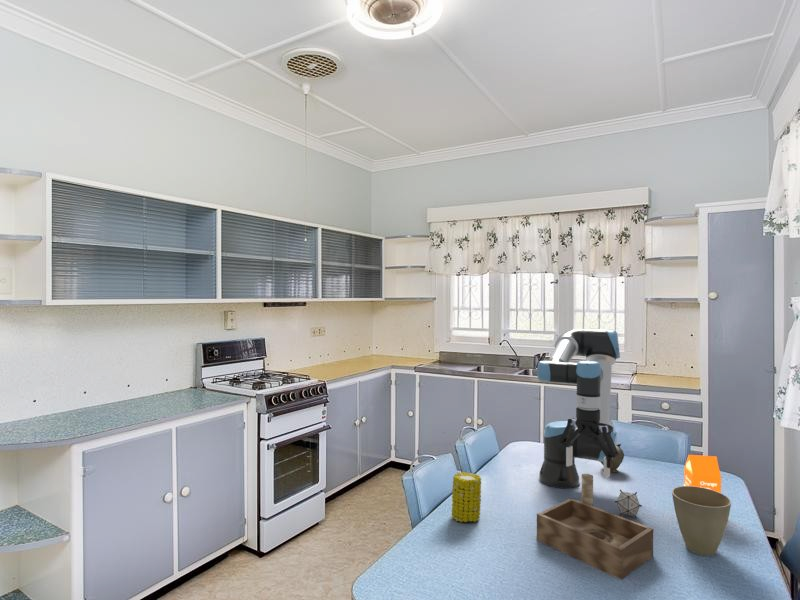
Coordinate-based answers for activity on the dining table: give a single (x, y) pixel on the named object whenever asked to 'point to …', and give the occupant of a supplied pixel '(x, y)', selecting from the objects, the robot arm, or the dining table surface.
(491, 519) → the dining table surface
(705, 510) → the plant pot
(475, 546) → the dining table surface
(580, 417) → the robot arm
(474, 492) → the food
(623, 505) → the game die
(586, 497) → the peg
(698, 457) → the orange juice
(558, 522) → the box
